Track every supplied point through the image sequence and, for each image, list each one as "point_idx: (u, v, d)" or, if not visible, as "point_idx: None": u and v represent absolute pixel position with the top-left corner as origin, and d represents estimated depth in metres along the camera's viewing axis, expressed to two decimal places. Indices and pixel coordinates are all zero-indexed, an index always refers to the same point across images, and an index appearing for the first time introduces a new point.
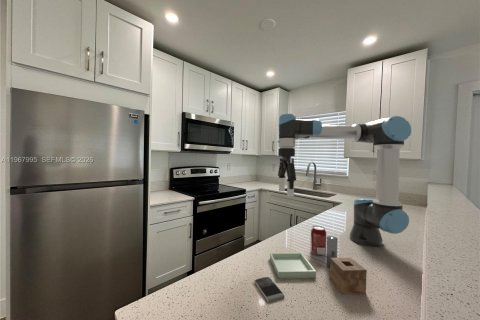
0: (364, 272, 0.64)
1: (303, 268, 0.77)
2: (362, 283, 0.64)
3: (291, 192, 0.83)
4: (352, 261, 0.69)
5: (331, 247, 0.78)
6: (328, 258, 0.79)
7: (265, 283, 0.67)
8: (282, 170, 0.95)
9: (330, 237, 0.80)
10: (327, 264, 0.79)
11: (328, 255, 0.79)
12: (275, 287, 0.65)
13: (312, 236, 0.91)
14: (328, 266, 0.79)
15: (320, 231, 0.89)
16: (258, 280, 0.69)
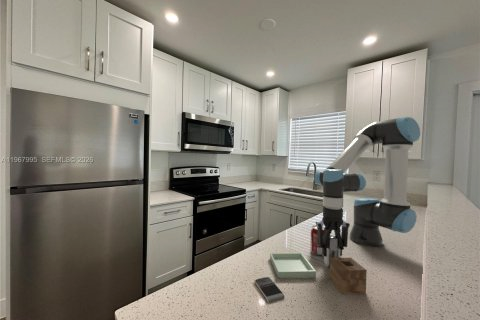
0: (364, 272, 0.64)
1: (303, 268, 0.77)
2: (362, 283, 0.64)
3: (326, 260, 0.80)
4: (352, 261, 0.69)
5: (332, 247, 0.78)
6: None
7: (265, 283, 0.67)
8: (335, 234, 0.80)
9: (330, 236, 0.80)
10: None
11: None
12: (275, 287, 0.65)
13: (312, 236, 0.91)
14: (328, 265, 0.79)
15: None
16: (258, 280, 0.69)
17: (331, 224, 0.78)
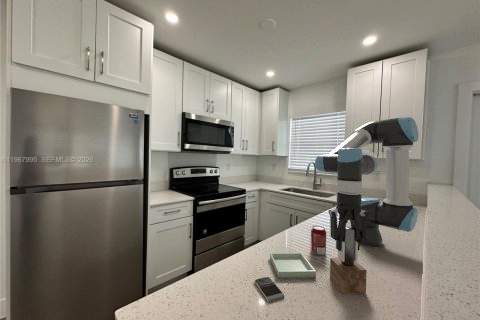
0: (364, 272, 0.64)
1: (303, 268, 0.77)
2: (362, 283, 0.64)
3: (340, 255, 0.67)
4: None
5: (348, 239, 0.66)
6: None
7: (265, 283, 0.67)
8: (352, 225, 0.68)
9: (346, 227, 0.68)
10: None
11: None
12: (275, 287, 0.65)
13: (312, 236, 0.91)
14: (344, 261, 0.67)
15: (320, 231, 0.89)
16: (258, 280, 0.69)
17: (347, 212, 0.66)
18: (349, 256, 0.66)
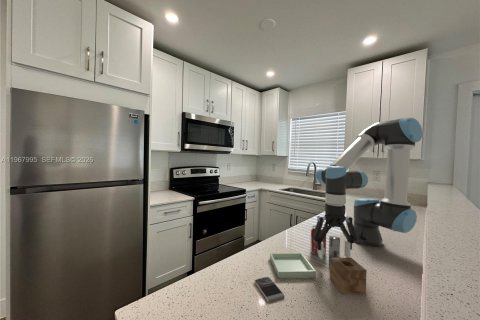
0: (364, 272, 0.64)
1: (303, 268, 0.77)
2: (362, 283, 0.64)
3: (320, 253, 0.79)
4: (352, 261, 0.69)
5: (334, 247, 0.78)
6: None
7: (265, 283, 0.67)
8: (342, 230, 0.81)
9: (332, 237, 0.80)
10: (329, 264, 0.80)
11: (330, 255, 0.79)
12: (275, 287, 0.65)
13: None
14: None
15: (320, 231, 0.89)
16: (258, 280, 0.69)
17: (333, 221, 0.78)
18: None
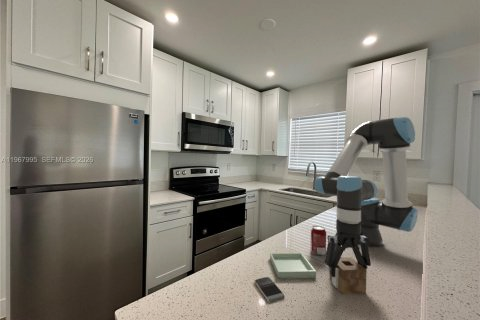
0: (364, 272, 0.64)
1: (303, 268, 0.77)
2: (362, 283, 0.64)
3: (334, 281, 0.67)
4: (352, 261, 0.69)
5: None
6: None
7: (265, 283, 0.67)
8: (354, 252, 0.68)
9: None
10: None
11: None
12: (275, 287, 0.65)
13: (312, 236, 0.91)
14: None
15: (320, 231, 0.89)
16: (258, 280, 0.69)
17: (347, 241, 0.66)
18: None
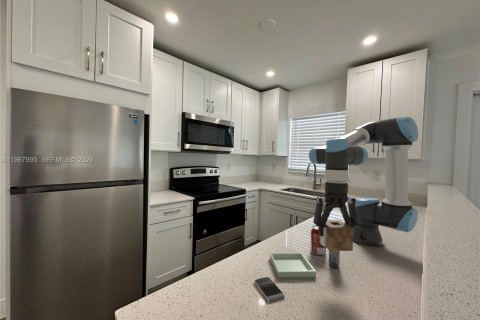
0: (351, 229, 0.66)
1: (303, 268, 0.77)
2: (349, 240, 0.66)
3: (322, 240, 0.69)
4: (340, 222, 0.71)
5: None
6: (330, 258, 0.79)
7: (265, 283, 0.67)
8: (342, 213, 0.71)
9: None
10: (329, 264, 0.80)
11: (330, 255, 0.79)
12: (275, 287, 0.65)
13: (312, 236, 0.91)
14: (330, 266, 0.79)
15: None
16: (258, 280, 0.69)
17: (334, 200, 0.68)
18: (335, 262, 0.78)
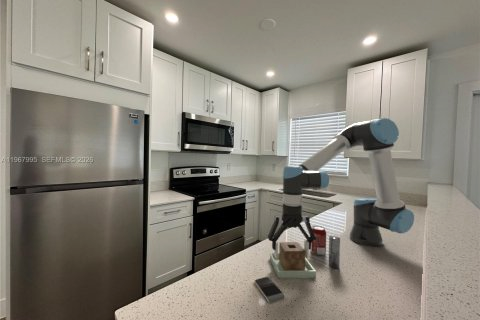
0: (303, 253, 0.75)
1: None
2: (302, 262, 0.75)
3: (275, 253, 0.78)
4: (297, 244, 0.80)
5: (334, 247, 0.78)
6: (330, 258, 0.79)
7: (265, 283, 0.67)
8: (300, 230, 0.80)
9: (332, 237, 0.80)
10: (329, 264, 0.80)
11: (330, 255, 0.79)
12: (275, 287, 0.65)
13: None
14: (330, 266, 0.79)
15: (320, 231, 0.89)
16: (258, 280, 0.69)
17: (289, 221, 0.77)
18: (335, 262, 0.78)
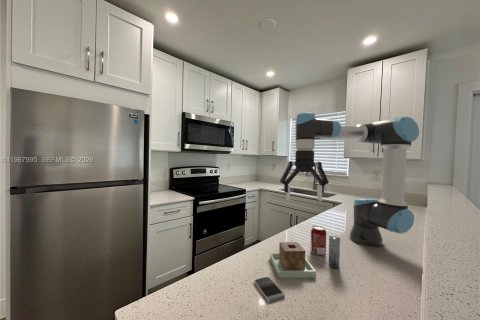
0: (303, 253, 0.75)
1: None
2: (302, 262, 0.75)
3: (287, 196, 0.81)
4: (297, 244, 0.80)
5: (334, 247, 0.78)
6: (330, 258, 0.79)
7: (265, 283, 0.67)
8: (313, 175, 0.83)
9: (332, 237, 0.80)
10: (329, 264, 0.80)
11: (330, 255, 0.79)
12: (275, 287, 0.65)
13: (312, 236, 0.91)
14: (330, 266, 0.79)
15: (320, 231, 0.89)
16: (258, 280, 0.69)
17: (302, 165, 0.80)
18: (335, 262, 0.78)
